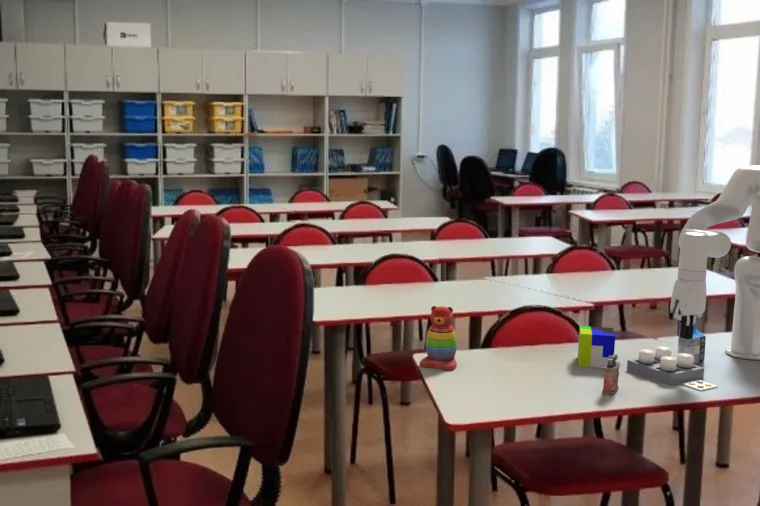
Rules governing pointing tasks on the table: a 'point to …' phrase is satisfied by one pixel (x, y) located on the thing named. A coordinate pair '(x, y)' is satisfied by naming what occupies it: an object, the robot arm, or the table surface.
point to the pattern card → (700, 385)
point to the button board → (665, 372)
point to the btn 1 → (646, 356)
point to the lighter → (611, 376)
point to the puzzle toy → (595, 345)
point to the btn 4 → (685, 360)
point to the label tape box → (693, 345)
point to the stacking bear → (441, 340)
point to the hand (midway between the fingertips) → (685, 338)
